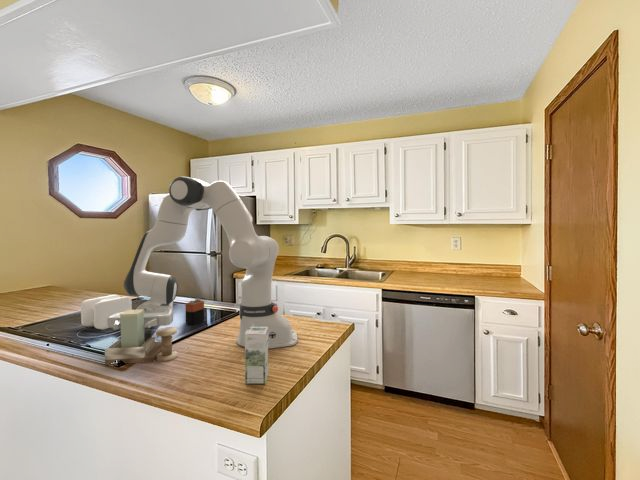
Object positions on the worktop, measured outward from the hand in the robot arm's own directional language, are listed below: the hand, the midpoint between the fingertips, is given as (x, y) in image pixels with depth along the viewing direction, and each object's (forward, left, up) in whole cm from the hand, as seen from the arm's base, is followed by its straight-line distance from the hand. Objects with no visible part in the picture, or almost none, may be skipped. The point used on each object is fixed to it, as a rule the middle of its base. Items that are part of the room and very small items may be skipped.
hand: (131, 326), depth 100 cm
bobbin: (-12, +2, -10) cm, 15 cm away
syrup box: (-42, +20, -10) cm, 47 cm away
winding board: (-2, -1, -10) cm, 10 cm away
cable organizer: (+24, -34, -10) cm, 43 cm away
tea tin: (0, -1, -8) cm, 9 cm away
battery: (-12, -33, -10) cm, 36 cm away
